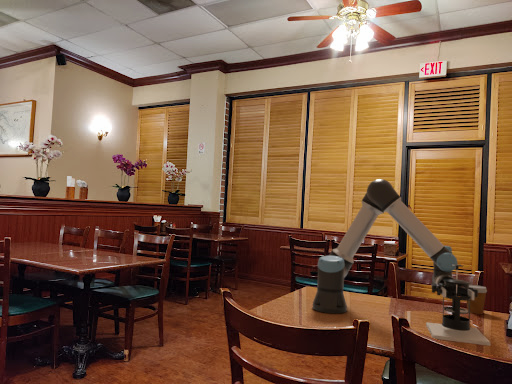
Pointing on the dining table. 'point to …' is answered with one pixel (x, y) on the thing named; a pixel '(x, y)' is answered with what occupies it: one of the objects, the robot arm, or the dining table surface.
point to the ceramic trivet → (457, 334)
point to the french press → (456, 305)
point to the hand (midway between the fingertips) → (458, 294)
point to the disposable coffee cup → (477, 300)
